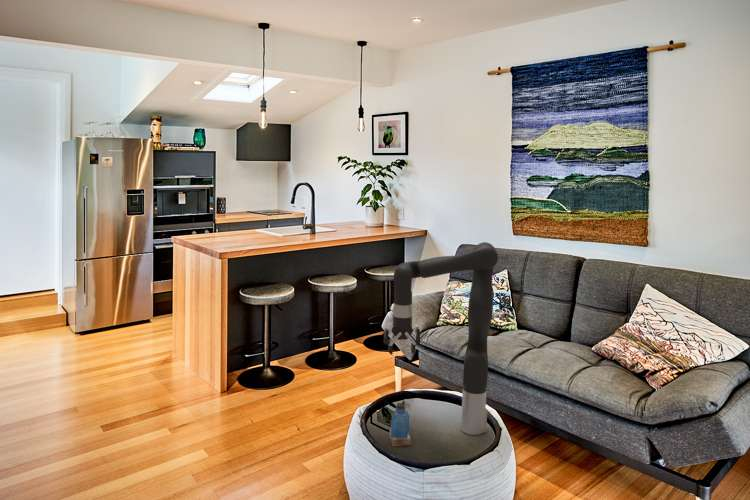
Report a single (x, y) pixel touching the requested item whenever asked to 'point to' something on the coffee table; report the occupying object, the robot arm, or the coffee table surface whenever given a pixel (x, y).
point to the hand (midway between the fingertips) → (401, 353)
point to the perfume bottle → (400, 422)
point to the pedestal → (400, 440)
